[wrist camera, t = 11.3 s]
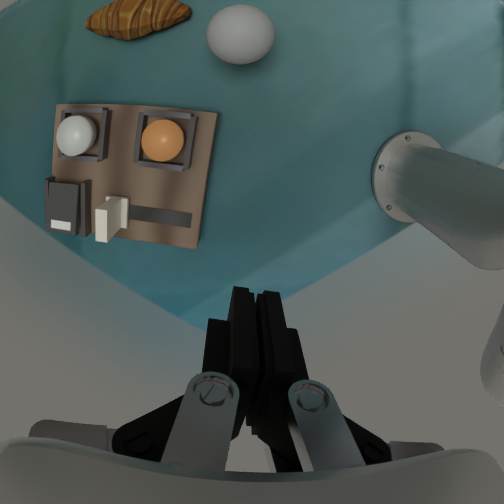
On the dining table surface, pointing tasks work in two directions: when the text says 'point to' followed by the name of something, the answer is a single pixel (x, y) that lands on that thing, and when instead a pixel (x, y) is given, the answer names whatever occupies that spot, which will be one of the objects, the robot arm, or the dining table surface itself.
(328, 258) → the dining table surface
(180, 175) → the panel
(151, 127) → the orange button
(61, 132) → the grey button
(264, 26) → the lightbulb
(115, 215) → the cream stepped block
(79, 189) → the rocker
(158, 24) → the croissant
